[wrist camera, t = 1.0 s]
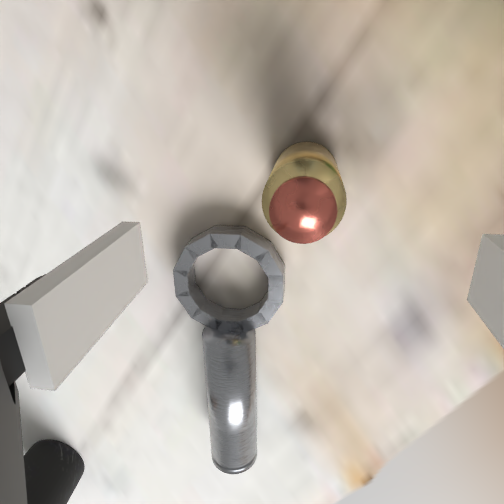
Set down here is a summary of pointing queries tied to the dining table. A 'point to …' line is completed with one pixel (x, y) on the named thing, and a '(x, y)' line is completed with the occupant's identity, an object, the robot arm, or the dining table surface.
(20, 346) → the robot arm
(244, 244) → the grey ring-headed tool
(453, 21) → the dining table surface
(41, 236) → the dining table surface
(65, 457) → the travel mug
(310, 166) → the yellow jar pink lid
